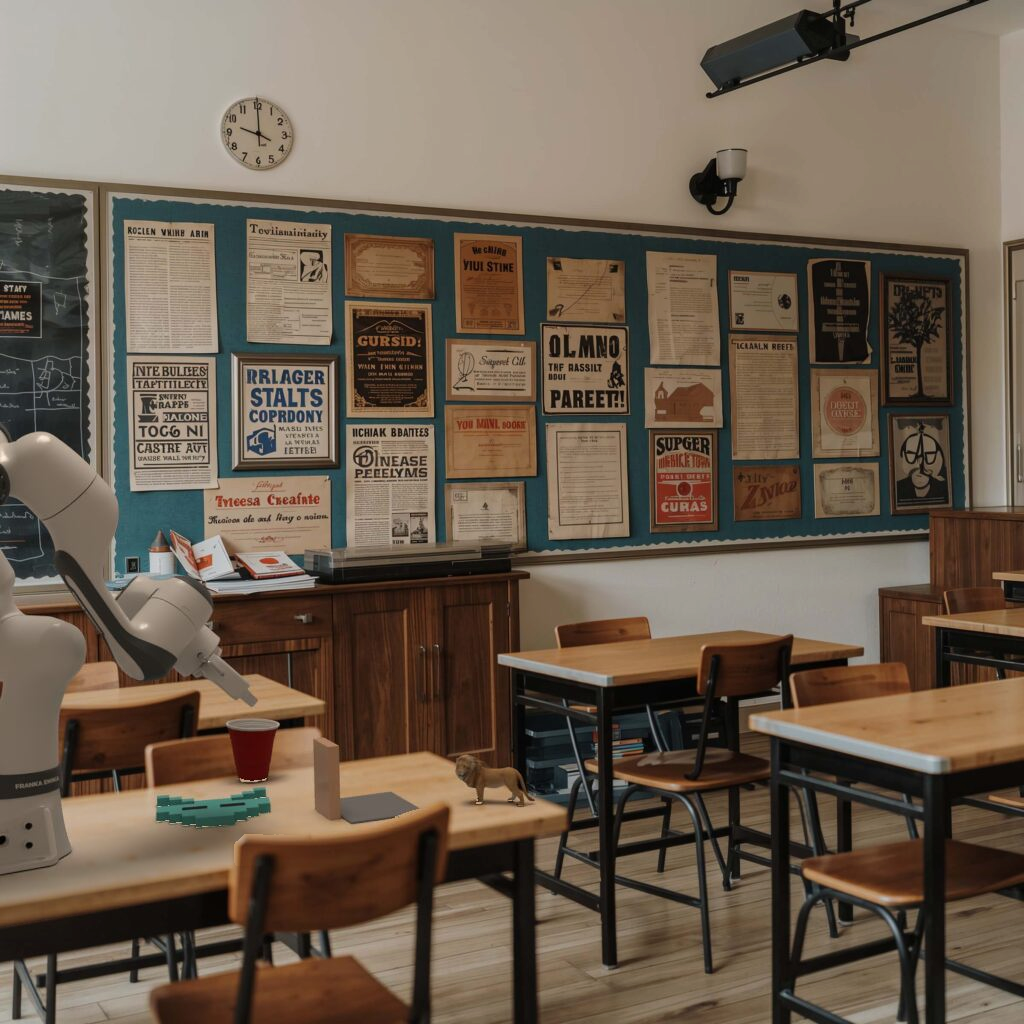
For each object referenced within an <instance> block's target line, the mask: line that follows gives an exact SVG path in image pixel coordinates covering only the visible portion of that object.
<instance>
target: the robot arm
mask: <svg viewBox="0 0 1024 1024" xmlns="http://www.w3.org/2000/svg"><path fill="white" fill-rule="evenodd" d="M9 497H10V498H11V497H12V498H15V499H17V500H19V501H20V502H22V503H23V505H25V506H26V507H27V508H28V510H30V511H31V512H32V513H33V514H34V515H35V516H36V518H38V520H39V521H40V522H41V523H43V525H44V526H45V528H46V529H47V531H48V533H49V535H50V537H51V540H52V542H53V545H54V551H55V554H54V559H53V564H54V566H55V568H56V570H57V573H58V575H59V577H60V578H61V580H62V582H63V583H64V584H65V586H66V588H67V589H68V590H69V592H70V594H71V595H72V597H73V598H74V599H75V601H76V602H77V604H78V605H79V606H80V608H81V610H82V611H83V612H84V614H85V615H86V616H87V618H88V619H89V621H90V623H91V624H92V625H93V627H94V628H95V629H96V631H97V632H98V634H99V635H100V637H101V638H102V639H103V641H104V643H105V644H106V647H107V648H108V650H109V652H110V654H111V656H112V659H113V660H114V662H115V663H116V664H117V666H118V667H119V669H120V670H121V671H123V673H125V674H126V676H128V677H129V678H131V679H132V680H134V681H137V682H141V683H144V682H145V683H147V682H155V681H158V680H161V679H165V678H167V676H168V675H169V674H170V672H171V671H172V669H174V670H175V671H177V673H179V674H180V675H181V676H182V677H183V678H187V677H189V676H190V675H193V676H194V677H195V678H200V677H204V678H205V679H207V680H208V681H210V682H211V683H213V684H214V685H216V686H217V687H218V688H220V689H221V690H222V691H223V692H224V693H225V694H226V695H227V696H229V697H230V698H232V699H233V700H235V701H238V700H240V699H241V700H242V701H243V702H244V703H245V704H246V705H248V706H249V707H251V708H253V707H254V706H256V704H257V703H258V702H259V701H258V698H257V697H256V695H254V694H253V693H252V692H251V691H250V690H249V689H250V687H251V684H250V683H249V681H247V679H246V678H244V677H243V676H242V675H241V674H240V673H238V671H236V670H235V669H234V668H233V667H232V666H231V665H230V664H228V663H227V662H226V661H225V660H224V659H222V657H221V654H222V653H223V649H222V648H220V647H219V646H218V645H219V643H220V641H221V637H219V636H218V635H217V634H216V633H214V631H212V630H211V629H210V628H209V627H208V626H207V625H206V624H207V622H208V621H209V620H210V618H211V616H212V614H213V613H214V601H213V597H212V594H211V592H210V591H209V590H208V588H206V586H204V585H203V584H202V583H201V582H200V581H199V580H197V579H196V578H194V577H193V576H190V575H174V576H171V577H170V578H168V579H162V580H159V579H158V580H157V579H156V580H154V579H152V578H150V577H148V576H147V575H145V574H137V575H135V576H134V577H132V579H131V580H130V581H129V582H128V583H127V584H126V585H125V586H124V587H123V588H122V589H121V590H120V592H119V593H118V594H117V596H116V597H114V596H113V595H112V593H111V591H110V590H109V588H108V586H107V585H106V582H105V578H104V567H105V561H106V558H107V555H108V551H109V549H110V546H111V544H112V540H113V538H114V536H115V534H116V531H117V528H118V524H119V517H120V510H119V501H118V499H117V497H116V494H115V492H114V491H113V490H112V488H111V487H110V486H109V484H108V483H107V482H106V480H104V479H103V478H102V476H101V475H100V474H99V473H98V472H97V471H96V470H95V469H94V468H93V467H92V466H91V465H90V464H89V463H88V462H87V461H86V460H85V459H84V458H83V457H81V456H80V455H79V454H78V453H77V452H76V451H75V450H73V448H71V447H70V446H68V444H66V443H65V442H63V441H62V440H60V439H59V438H58V437H57V436H55V435H54V434H51V433H50V432H47V431H34V432H30V433H28V434H25V435H23V436H21V437H20V438H18V439H16V441H13V440H12V436H11V434H10V432H9V431H8V429H7V427H6V426H5V425H4V424H3V423H2V422H1V421H0V507H1V506H4V505H5V504H6V503H7V501H8V499H9ZM15 583H16V574H15V570H14V568H13V567H12V565H11V563H10V562H9V560H8V559H7V557H6V556H5V553H4V551H2V549H1V548H0V682H1V683H2V691H1V695H0V875H4V874H9V873H16V872H21V871H25V870H32V869H37V868H42V867H43V868H44V867H48V866H53V865H55V864H56V863H58V861H59V859H61V858H62V857H65V856H66V855H68V854H69V853H70V852H71V851H72V849H73V847H72V845H71V842H70V839H69V836H68V832H67V828H66V824H65V820H64V818H65V817H64V814H63V805H62V797H63V785H64V783H63V781H64V780H63V772H62V771H63V770H62V764H61V763H60V762H59V723H60V722H59V720H60V712H61V707H62V703H63V700H64V698H65V697H64V696H65V694H66V692H67V691H66V690H67V689H68V687H69V684H70V683H71V681H72V680H73V679H74V677H76V675H78V673H79V672H80V671H81V670H82V668H83V667H84V665H85V662H86V658H87V653H88V652H87V649H88V648H87V642H86V638H85V636H84V635H83V632H82V631H81V629H79V627H77V626H75V624H72V623H69V622H67V621H65V620H63V619H59V618H56V617H53V616H48V615H47V616H46V615H28V614H25V613H23V612H22V611H21V610H20V609H19V608H18V607H17V604H16V602H15V598H14V595H13V591H12V589H13V587H15V586H14V585H15Z"/></svg>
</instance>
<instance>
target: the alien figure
mask: <svg viewBox="0 0 1024 1024" xmlns="http://www.w3.org/2000/svg"><path fill="white" fill-rule="evenodd" d="M260 797H266V798H260ZM255 798H257V799H255ZM168 805H169V806H168ZM157 806H161V807H157ZM155 808H156V809H155V810H156V811H155V812H156V813H155V814H156V815H155V817H156V818H155V819H156V821H165V820H169V822H168V823H176V822H182V823H181V824H182V825H190V824H196V825H195V828H196V827H202V826H218V827H220V826H219V825H229V826H235V825H236V822H235V821H237V820H247V821H248V818H247V817H248V816H251V817H250V818H255V817H254V816H259V817H260V814H269V813H271V801H270V798H269V797H267V788H266V786H262V787H253V788H252V790H244V791H241V794H230V797H223V798H213V799H203V800H199V799H198V800H195V798H183V797H182V796H172V797H171V796H170V794H165V795H164V794H163V795H161V794H160V795H156V807H155ZM268 812H269V813H268ZM259 813H260V814H259ZM234 824H235V825H234ZM182 825H181V826H182Z"/></svg>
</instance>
